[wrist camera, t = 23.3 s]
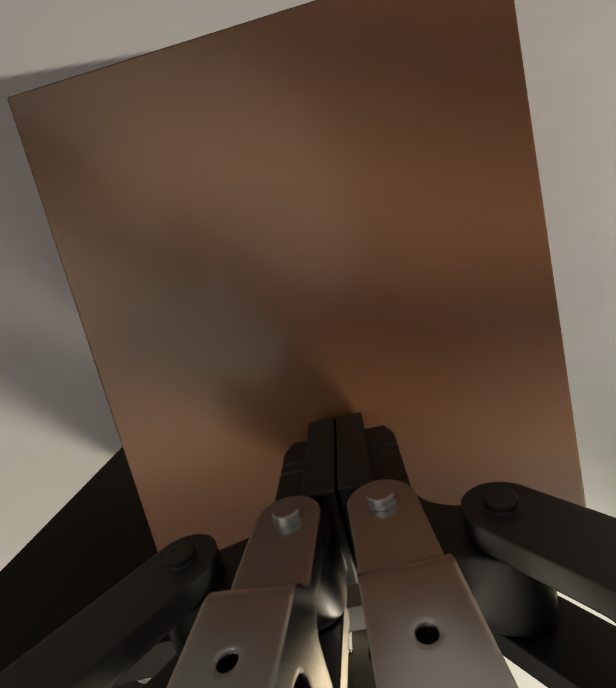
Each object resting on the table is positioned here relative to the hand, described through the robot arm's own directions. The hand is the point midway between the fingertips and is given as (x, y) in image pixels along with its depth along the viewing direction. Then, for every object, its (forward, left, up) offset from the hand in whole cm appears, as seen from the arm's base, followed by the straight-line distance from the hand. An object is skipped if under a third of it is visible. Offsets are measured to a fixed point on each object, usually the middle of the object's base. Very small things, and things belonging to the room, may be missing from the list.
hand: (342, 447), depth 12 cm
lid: (-3, 0, -1) cm, 3 cm away
